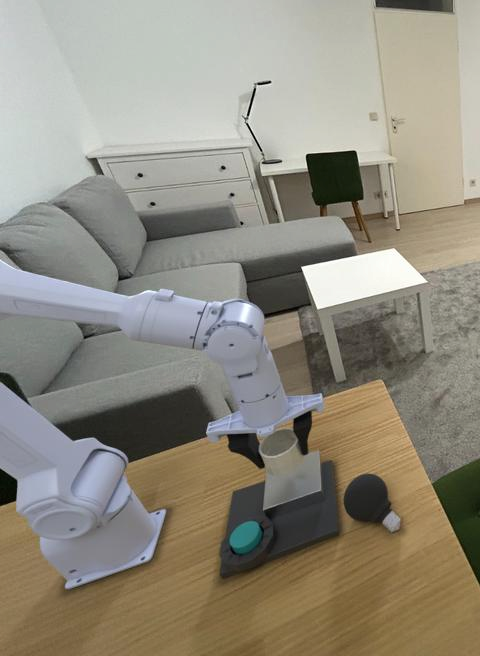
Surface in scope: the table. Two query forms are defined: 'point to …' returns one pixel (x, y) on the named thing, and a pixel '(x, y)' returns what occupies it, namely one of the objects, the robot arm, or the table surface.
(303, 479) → the plate
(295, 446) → the bowl
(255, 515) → the scale
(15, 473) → the robot arm
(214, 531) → the table surface
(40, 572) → the table surface
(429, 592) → the table surface
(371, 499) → the light bulb
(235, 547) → the tare button
